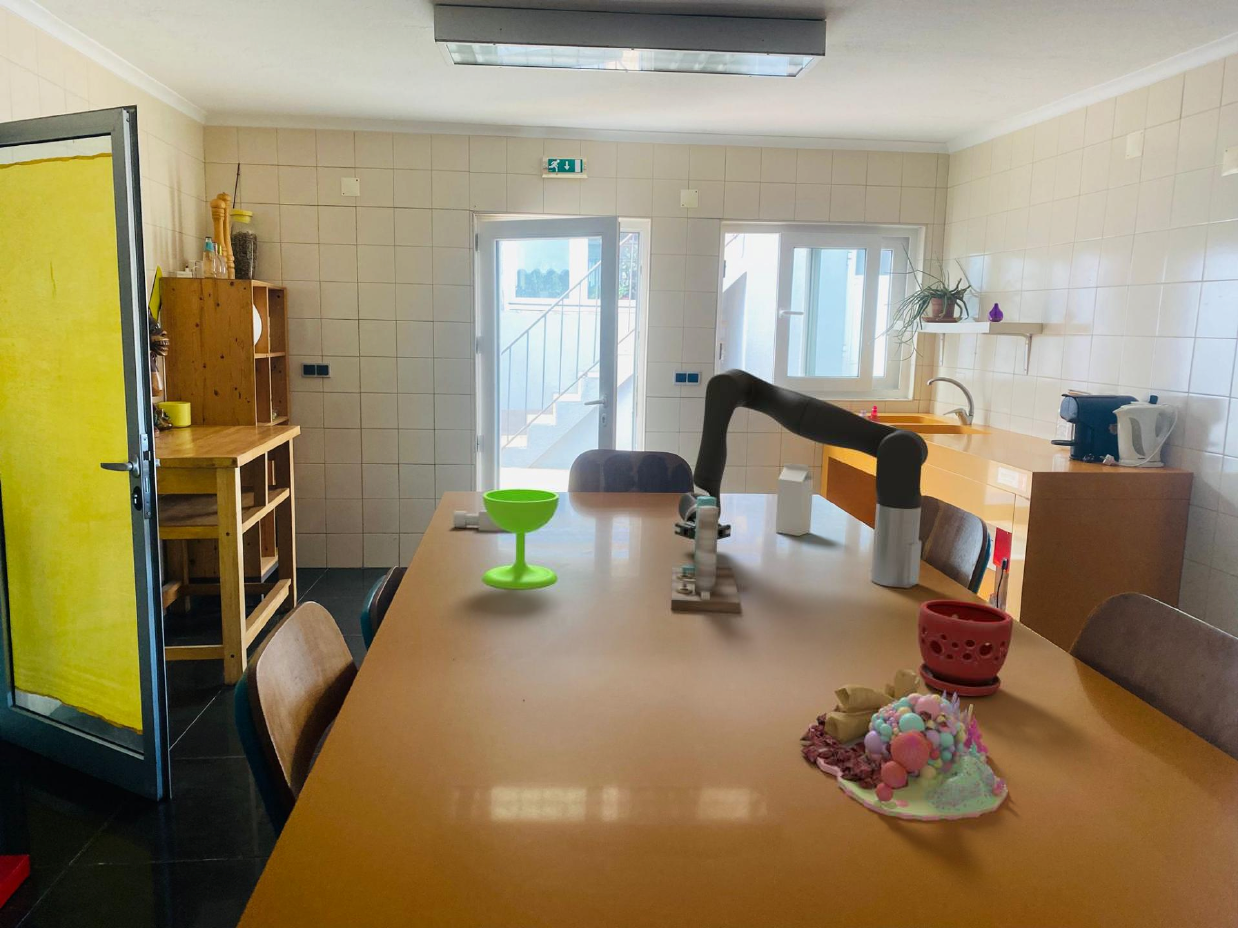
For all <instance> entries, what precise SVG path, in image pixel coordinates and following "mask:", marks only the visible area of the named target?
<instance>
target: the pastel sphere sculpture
mask: <svg viewBox="0 0 1238 928" xmlns="http://www.w3.org/2000/svg"><path fill="white" fill-rule="evenodd" d="M893 682H894V683H893V684H894V686H893V685H892V684H890V683H888V682H887V683H886V684H885V687H884V693H883V692H881V691H879V690H878V689H874V688H871V687H867V686H864V685H860V684H850V683H849V684H848V683H846V684H843V686H841V687H840V688H837V689H836V690H834V694H835V695H836V696H837V699H838V700H839V702H840V703H837V705H836V706H835V708H834V709H833V710H831V711H829V712H828V713H827V712H825V713H824V714H822V715H818V716H817V718H816V722H817V723H810V724H809V726H808V730H807V731H806V732H805V733H804V735H802V737H801V738H799V741H802V742H804V741H805V742H809V743H808V744H807V745H805V747H803V748H802V749H801V750H800V752H801V753H802V754H803V755H804V756H805V757H806V758H808V759H809V760H810V762H812V763H816V764H817V765H818V767H819V768H820V770H821V771H823V772H826V773H828V774H831V775H832V776H834V777H835V776H836V781H837V787H839V788H841V789H842V790H843V791H844V792H845V795H846V796H849V797H851V798H853V799H855V800H856V801H857V802H859V803H860V804H862V805H863V807H865V808H867V809H869V810H873V811H876V812H877V813H880V814H882V815H886V816H890V817H898V818H900V819H902V820H903V819H904V820H920V821H940V820H942V819H943V820H945V819H946V820H948V821H949V820H950V821H951V820H959V819H962V818H963V819H964V818H979V817H980V816H981V815H982V814H988V813H989V812H994V811H997V809H998V808H999V807H1000V805H1001V804H1002V803H1003V802H1004V800H1005V798H1006V797H1007V796H1008V791H1009V790H1008V789H1007V788H1006V787H1007V786H1006V785H1007V784H1006V783H1005V778H1002V777H1001V778H999V777H997V776H996V775H995V773H994V771H993V769H992V768H991V766H990V765H989V764H987V761H988V759H987V756H988V752H989V749H988V747H987V746H986V745H985V744H982V742H981V739H983V734H982V732H980V731H978V729H979V728H978V727H979V726H978V722H977V719H976V718H975V715H974V714H972V713H973V709H974V705H973V704H969V708H968V712H967V709H965V711H962V712H961V708H959V707H960V702H961V701H960V697H958V696H957V695H956V692H955V693H954V695H953V694H952V698H951V702H950V701H948V699H946V698H947V692H946V689H945V691H943V693H942V695H941V696H940V695H939V694H929V693H928V694H926V695H922V694H920V693H918V689H919V688H920V686H921V678H920V676H918V674H917V673H915V671H913V670H912V669H907V668H905V669H903V668H901V669H899V670H898V671H896V674H895V676H894V678H893ZM971 717H972V722H970V721H971Z"/></svg>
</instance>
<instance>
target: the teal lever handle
mask: <svg viewBox="0 0 1238 928" xmlns="http://www.w3.org/2000/svg"><path fill="white" fill-rule="evenodd" d="M707 496H708V495H706V496H701V497H697V509H696V533H695V540H694V560H693V562H694V563H693V566H694V567H688V566H689V565H682V566H683V568H682V574H684V575H685V574H686V571H694V574H695V568H696V544H697V520H698V507H699V506H715V507H716V498H715V497H707Z"/></svg>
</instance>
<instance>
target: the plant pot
mask: <svg viewBox="0 0 1238 928" xmlns="http://www.w3.org/2000/svg"><path fill="white" fill-rule="evenodd" d="M919 607H920V608H919V614H918V622H917V623H918V624H917V630H918V631H917V634H918V635H917V636H918V646H919V650H920V654H921V658H922V660H923V663H921V664H920V665H919V669H918V671H919V672H918V673H919V675H920V676H921V678H922V679H923V680H924V682H926V683H927V684H928V685H929V686H931V687H933V688H935V689H937V690H938V691H942V692H944V691H945V689H946V693H948V694H951V695H952V696H953V695H954V693H955V692H956V695H957V697H958V696H966V697H980V696H986V695H990V694H993V693H995V692H996V691H997V690H998V689H999V688H1000V686H1001V684H1002V682H1001V681H1002V680H1001V678H1000V677H999V675H998V674H999V672H1000V671H1001V669H1002V668H1003V666H1004V665H1005V664H1004V663H1005V662H1006V659H1007V656H1008V653H1009V649H1010V645H1011V640H1012V633H1013V625H1014V624H1013V623H1014V619H1013V616H1011V615H1010V613H1008V612H1006V611H1004V610H1001V609H999V608H996V607H993V606H990V605H986V604H981V603H977V602H970V601H965V600H964V601H963V600H957V599H955V600H952V599H935V600H928V601H924V602H922V603H921V605H920V606H919ZM953 616H957V618H954V617H953Z"/></svg>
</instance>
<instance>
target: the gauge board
mask: <svg viewBox="0 0 1238 928" xmlns="http://www.w3.org/2000/svg"><path fill="white" fill-rule="evenodd" d="M718 512H719V508H718V507H715V506H699V507H698V520H697V544H696V568H695V574H694V571H686V574H685V575H684V574H682V568H683V566H684V565H679V564H678V565H677V564H675V565H674V564H672V566H671V567H672V568H671V599H670V601H671V602H670V603H671V604H670V605H671V606H670V610H673V611H689V612H691V611H693V612H694V611H695V612H711V613H712V612H713V613H715V612H716V613H729V614H730V613H732V614H734V613H735V614H740V611H741V610H740V609H741V607H740V605H741V601H740V597H739V593H738V590H737V585H736V582H735V578H734V577H735V576H734V571H733V569H732V567H725V566H724V567H723V566H722V567H719V566H717V557H718V556H717V553H718V550H717V549H718V540H717V534H718V522H719V519H718ZM687 566H688V567H694V565H687Z"/></svg>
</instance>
